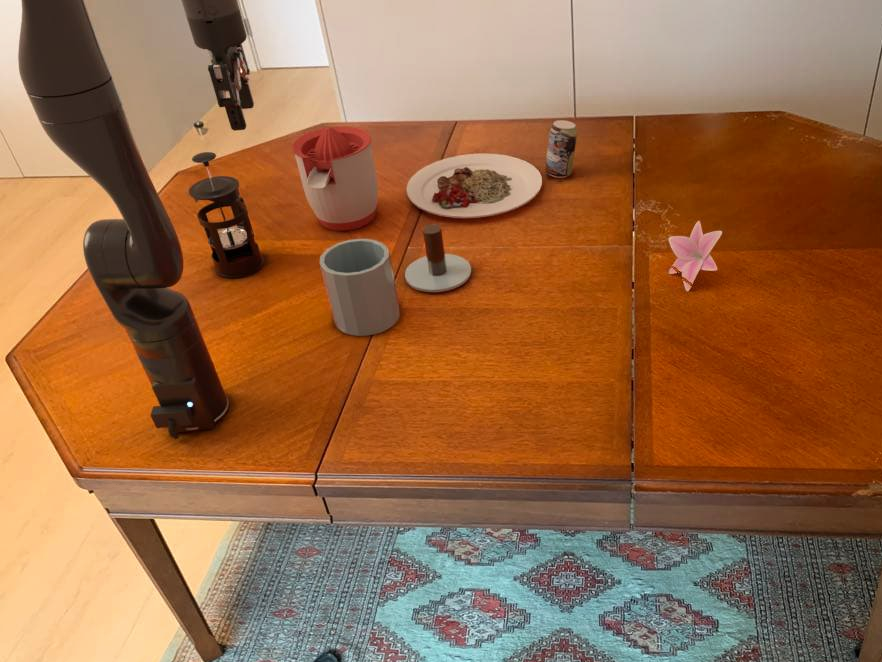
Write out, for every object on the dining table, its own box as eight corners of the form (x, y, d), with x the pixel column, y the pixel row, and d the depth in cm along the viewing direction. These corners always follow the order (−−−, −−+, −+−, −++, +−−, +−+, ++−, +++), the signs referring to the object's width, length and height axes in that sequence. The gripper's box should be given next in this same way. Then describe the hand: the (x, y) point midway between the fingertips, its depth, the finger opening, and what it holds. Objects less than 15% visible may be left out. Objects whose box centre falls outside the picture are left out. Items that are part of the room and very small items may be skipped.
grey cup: (399, 332, 141) (388, 271, 133) (333, 339, 140) (317, 278, 132) (400, 295, 150) (389, 235, 141) (337, 301, 149) (322, 242, 141)
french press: (248, 282, 155) (212, 170, 139) (204, 278, 156) (163, 167, 141) (276, 250, 163) (244, 141, 148) (233, 247, 165) (197, 138, 150)
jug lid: (473, 291, 150) (468, 243, 143) (405, 298, 149) (397, 250, 142) (469, 256, 159) (464, 209, 152) (405, 262, 158) (397, 215, 151)
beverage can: (541, 172, 185) (539, 121, 177) (569, 165, 187) (569, 114, 179) (552, 183, 181) (551, 131, 173) (582, 176, 183) (582, 124, 175)
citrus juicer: (294, 237, 167) (269, 145, 154) (330, 198, 179) (309, 109, 166) (364, 244, 164) (345, 150, 150) (395, 203, 176) (380, 113, 163)
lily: (667, 259, 157) (653, 230, 150) (726, 237, 154) (714, 206, 146) (680, 308, 151) (665, 280, 144) (741, 286, 148) (730, 257, 140)
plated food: (557, 166, 187) (557, 153, 185) (520, 231, 165) (519, 216, 163) (436, 156, 194) (434, 142, 191) (386, 216, 172) (383, 202, 170)
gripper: (195, -4, 122) (226, 103, 133) (175, 25, 111) (211, 139, 122) (245, -7, 122) (273, 99, 133) (230, 21, 112) (261, 134, 123)
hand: (243, 118), depth 128 cm, fingers open, 8 cm apart
